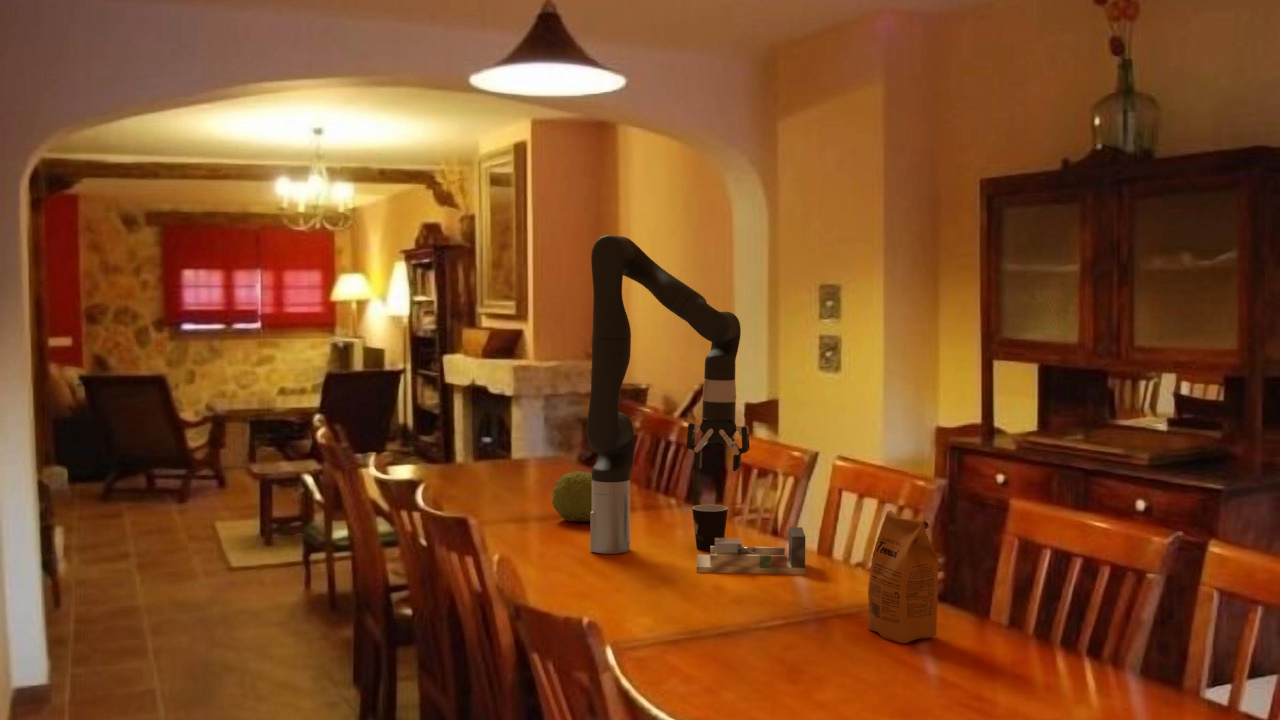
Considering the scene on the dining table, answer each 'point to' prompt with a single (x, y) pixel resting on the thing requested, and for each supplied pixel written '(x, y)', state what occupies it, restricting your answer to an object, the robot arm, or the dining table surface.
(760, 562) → the gauge bed
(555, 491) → the fruit
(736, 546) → the plunger
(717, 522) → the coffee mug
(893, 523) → the coffee package
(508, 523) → the dining table surface
